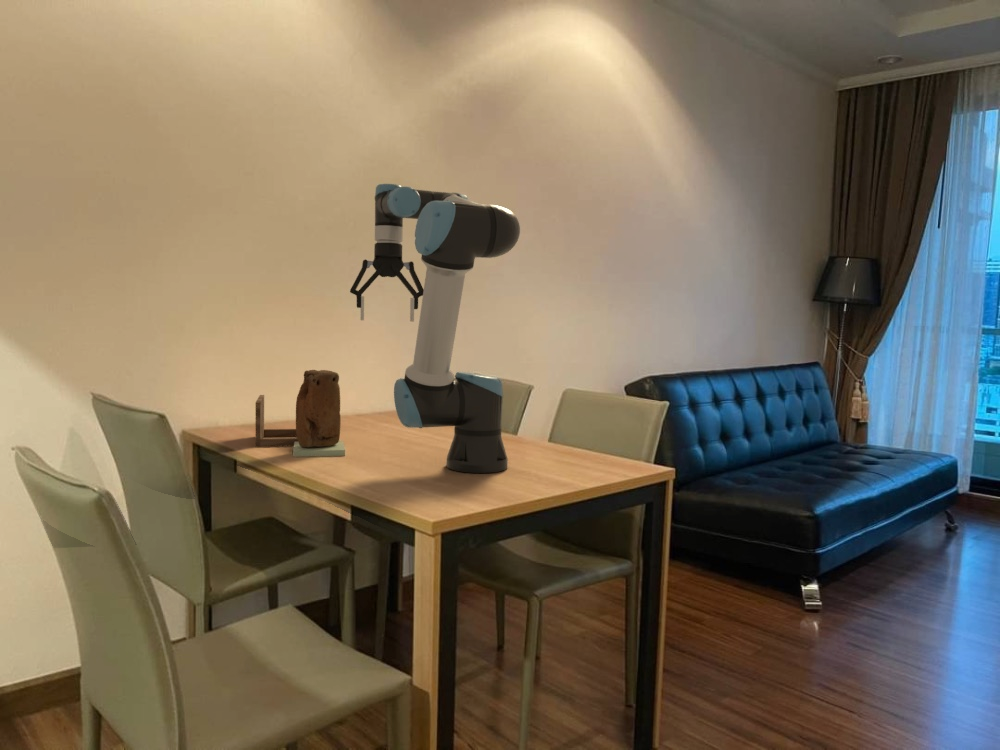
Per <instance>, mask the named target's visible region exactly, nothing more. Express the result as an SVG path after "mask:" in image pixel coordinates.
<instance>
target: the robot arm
mask: <svg viewBox="0 0 1000 750" xmlns="http://www.w3.org/2000/svg"><path fill="white" fill-rule="evenodd" d="M404 219H413V220H417V221H416V225H415V231H414V245H415V246H414V247H415V250H416V251H417V252H418V253H419V254H420V255H421V258H420V260H421V262H422V263H423V265H425V267H426V271H425V279H424V285H423V286H422V283H421V281H420V279H419V277H418V274H417V273H416V270H415V264H414V261H407V262H404V261H403V245H402V244H401V243H402V242H403V238H404V237H403V229H404V228H403V227H404V224H403V223H404V222H403V220H404ZM520 234H521V226H520V223H519V219H518V218H517V216H516V215H515V213H514V212H513V211H511V210H510V209H508V208H506V207H503V206H499V205H495V204H486V203H479V202H475V201H472V200H470V199H469V198H468V196H467V195H466V194H463V193H458V192H445V191H435V190H434V191H433V190H425V189H424V190H423V189H414V188H413V187H410V186H402V185H400V184H395V183H380V184H378V185H376V186H375V194H374V241H375V243H374V252H373V253H374V258H373V260H367V259H363V260H362V262H361V263H362V264H361V268H360V271H359V273H358V274H357V276H356V279H355V280H354V282H353V284H352V286H351V287H350V290H349V292H350V294H352V295H355V296H356V308H358V309H359V308H360V321H365V296H363V295H362V294H363V293H364V292H365V291H367V289H368V288H369V287H370V286H371V285H372V283H373V282H374V281H375V280H376V279H377V278H378V277H379V276H380V277H381V278H387V277H388V278H395V277H397V278H398V279H399V280H400V281H401V283H402V284H403V285H404V287H405V288H406V289H407V291H408V292H409V293H410V294H411V296H412V297H410V302H409V303H410V305H409V309H410V310H409V321H410V322H415V310H418V309H419V298H421V297H422V299H421V306H420V307H421V308H420V315H419V321H418V327H417V335H416V341H415V342H416V343H415V348H414V355H413V363H412V364H410V365H409V366H407V368H406V369H405V372H404V378H402V377H401V378H398V379H396V380H395V383H394V387H393V398H394V399H393V400H394V405H395V411H396V415H397V417H398V419H399V422H400V423H401V425H402V426H403V427H406V428H408V429H409V428H412V429H416V428H418V429H423V428H441V427H443V428H445V427H454V431H453V432H454V433H453V438H452V442H451V444H450V448H449V450H448V453H447V455H446V464H445V465H446V468H448V469H449V470H452V471H455V472H461V473H462V472H463V473H469V474H470V473H471V474H472V473H473V474H488V473H489V474H491V473H497V472H502V471H505V470H507V469H508V463H509V462H508V461H509V460H508V456H507V452H506V448H505V445H504V442H503V438H502V429H503V428H502V427H503V426H502V423H503V399H504V392H503V390H504V389H503V382H502V380H501V379H500V378H499V377H496V376H491V375H486V374H480V373H473V372H465V371H456V373H455V375H454V373H453V371H451V362H452V357H453V351H454V350H453V349H454V345H455V338H456V332H457V328H458V327H457V326H458V321H459V320H458V319H459V314H460V308H461V303H462V302H461V301H462V296H463V289H464V282H465V278H466V274H467V273H469V272H470V271H472V270H473V269H474V264H475V260H476V258H485V259H491V258H497V257H500V256H501V257H502V256H503V255H505V254H507V253H508V252H511V250H512V249H513V248H514V247H515V246H516V244H517V243H518V241H519V238H520ZM371 266H372V267H373V268H374V270H375V272H373V274H372V275H371V276H370V277H369V278H368V279H367V281H366V282H365V283H364V284H363V285H362V286H361V287H360V289H359V290H357V288H358V286H359V285H360V284H361V281H362V279H363V277H364V275H365V273H366V271H367V269H370V267H371ZM404 267H405V269H406V270H408V271H409V274H410V276H411V279H412V280H413V283H414V284H415V287H416V289H417V291H418V292H417V291H416V290H415V288H414V287H413V286H412V285H411V283H410V282H409V280H407V278H406V277H405V276H404V275H403V273H402V272H401V271H402V269H403V268H404Z"/></svg>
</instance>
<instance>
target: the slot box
mask: <svg viewBox="0 0 1000 750" xmlns="http://www.w3.org/2000/svg"><path fill="white" fill-rule="evenodd" d="M266 437H267V438H266ZM268 437H269V438H268ZM275 437H276V438H275ZM281 437H282V438H281ZM283 437H284V438H283ZM289 437H290V438H289ZM294 442H298V440H297V436H296V428H267V429H266V428H265V395H264V394H260V395H259V396H258V397H257V399H256V401H255V448H257V447H260V448H262V447H264V448H266V447H294Z"/></svg>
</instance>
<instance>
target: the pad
mask: <svg viewBox="0 0 1000 750" xmlns="http://www.w3.org/2000/svg"><path fill="white" fill-rule="evenodd" d="M345 456H346V448H345V442H344V440H339V442H338V443H337V444H335V445H332V446H322V447H315V446H314V447H302V446H300V445H299V442H294V446H293V449H292V457H295V458H296V457H297V458H299V457H345Z"/></svg>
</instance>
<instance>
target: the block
mask: <svg viewBox="0 0 1000 750" xmlns="http://www.w3.org/2000/svg"><path fill="white" fill-rule="evenodd" d="M339 381H340V375H339V374H338V372H336V371H332V370H327V369H321V370H316V369H309V370H305V371H304V372H303V382H302V384H301V385H300V388H299V391H298V394H297V396H296V403H295V429H296V436H295V437H296V438H297V440H298V442H299V445H300V446H302V447H314V446H315V447H322V446H332V445H335V444H337V443H338V442H339V441H340V436H341V424H342V423H341V421H342V420H341V418H342V417H341V391H340V390H341V388H340V384H339Z"/></svg>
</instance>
